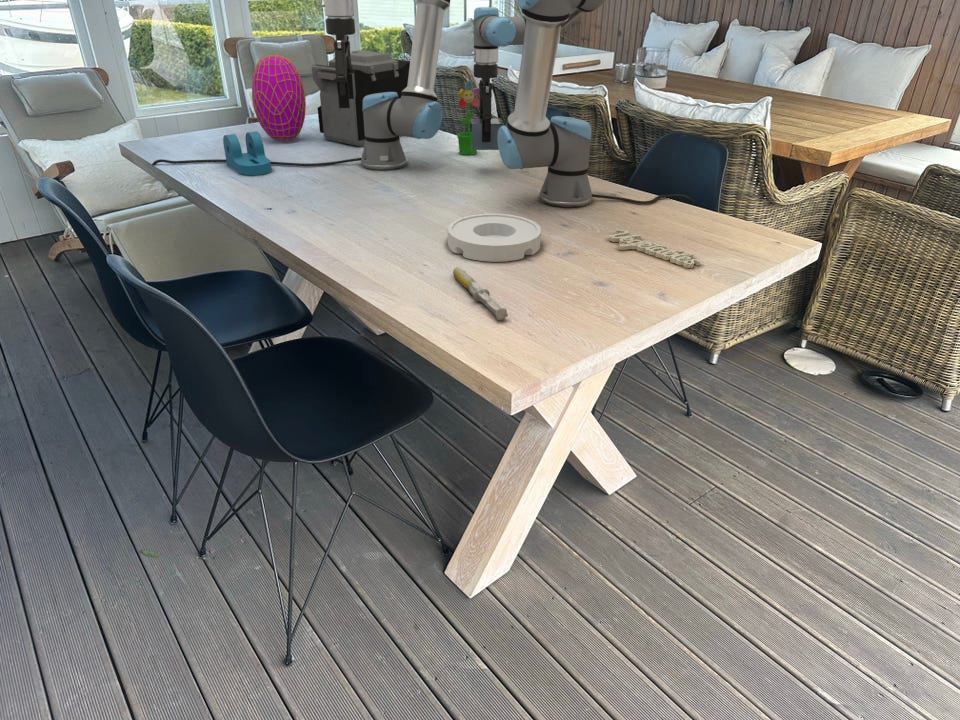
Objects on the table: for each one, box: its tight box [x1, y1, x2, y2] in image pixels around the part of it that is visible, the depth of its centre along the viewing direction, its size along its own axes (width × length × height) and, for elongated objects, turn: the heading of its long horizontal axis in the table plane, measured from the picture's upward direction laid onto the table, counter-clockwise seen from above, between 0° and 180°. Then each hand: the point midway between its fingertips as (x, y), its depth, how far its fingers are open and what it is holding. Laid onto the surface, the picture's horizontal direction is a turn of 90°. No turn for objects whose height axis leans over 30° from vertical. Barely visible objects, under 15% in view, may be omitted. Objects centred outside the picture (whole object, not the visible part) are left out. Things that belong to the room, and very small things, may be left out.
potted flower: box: [456, 80, 480, 156], centre depth 244 cm, size 9×8×25 cm
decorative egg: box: [251, 54, 307, 142], centre depth 257 cm, size 19×19×30 cm
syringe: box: [452, 266, 509, 321], centre depth 145 cm, size 25×4×3 cm, turn 21°
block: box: [469, 117, 501, 151], centre depth 222 cm, size 9×9×8 cm
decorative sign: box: [609, 229, 701, 269], centre depth 168 cm, size 26×1×10 cm
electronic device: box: [311, 49, 410, 147], centre depth 265 cm, size 37×22×30 cm, turn 144°
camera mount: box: [222, 131, 272, 176], centre depth 226 cm, size 18×10×10 cm, turn 35°
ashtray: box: [447, 213, 542, 263], centre depth 170 cm, size 23×23×4 cm
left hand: (346, 103), depth 189 cm, fingers open, 13 cm apart
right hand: (484, 138), depth 223 cm, fingers closed on block, 9 cm apart
